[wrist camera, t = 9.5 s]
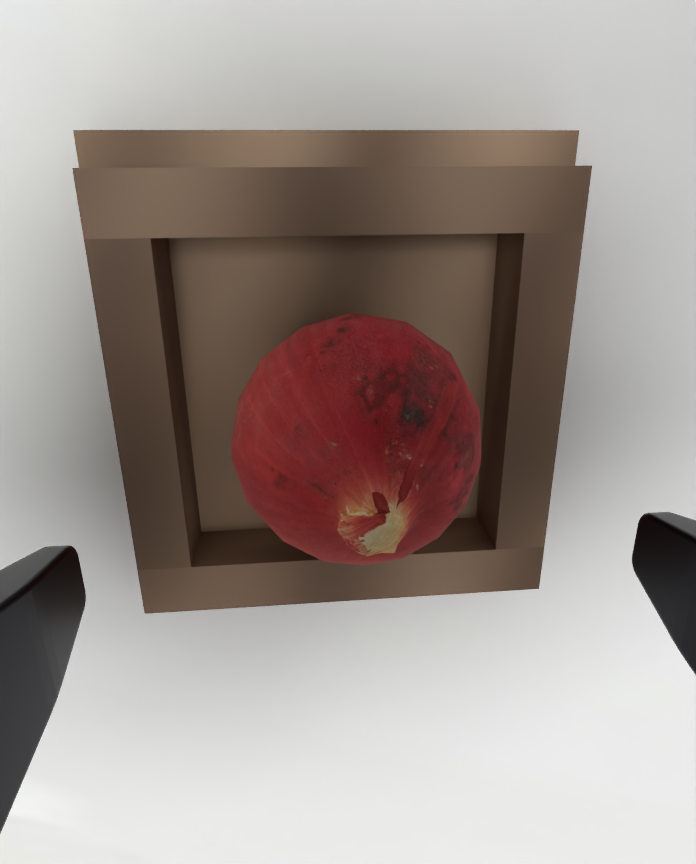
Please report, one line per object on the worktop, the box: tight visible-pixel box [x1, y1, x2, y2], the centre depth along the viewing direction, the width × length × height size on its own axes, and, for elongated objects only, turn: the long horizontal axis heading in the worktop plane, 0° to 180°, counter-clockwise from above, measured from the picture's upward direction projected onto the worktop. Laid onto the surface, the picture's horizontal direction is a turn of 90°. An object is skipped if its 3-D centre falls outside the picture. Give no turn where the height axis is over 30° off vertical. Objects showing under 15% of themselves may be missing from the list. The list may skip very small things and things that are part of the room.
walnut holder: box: [73, 130, 592, 613], centre depth 17 cm, size 13×14×3 cm
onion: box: [231, 313, 481, 565], centre depth 14 cm, size 6×6×8 cm
